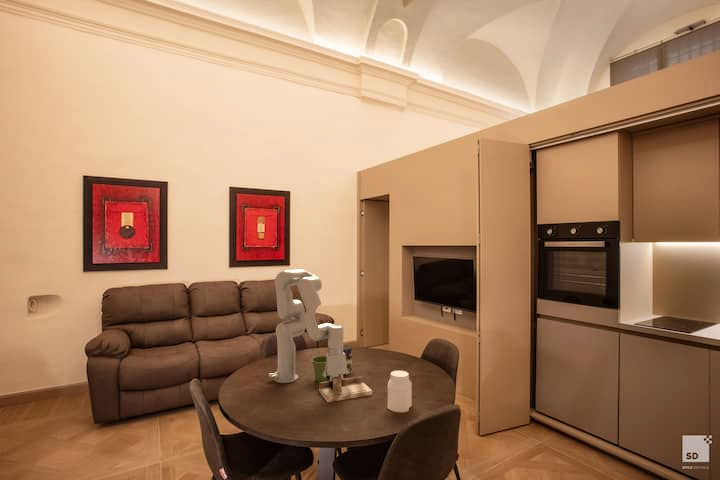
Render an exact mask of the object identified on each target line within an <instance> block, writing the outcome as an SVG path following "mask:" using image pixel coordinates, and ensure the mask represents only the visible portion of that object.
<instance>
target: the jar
mask: <svg viewBox="0 0 720 480" xmlns="http://www.w3.org/2000/svg"><path fill="white" fill-rule="evenodd" d="M409 375H410V374H409V372H407V371H405V370H393V371H391V372H390V378H389V380H388V382H387V409H388V410H389V411H391V412H393V413H406V412H409V411H410V408H411V407H412V405H413V403H412V386H413V384H412V382H411V380H410V378H409V377H410V376H409Z"/></svg>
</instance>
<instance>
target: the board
mask: <svg viewBox="0 0 720 480" xmlns="http://www.w3.org/2000/svg"><path fill="white" fill-rule="evenodd" d="M318 382H319V381H318ZM318 392H319V393H320V394H321V395H322V397H323V398H324V400H325V401H326V402H327V403H332V402H337V401H343V400H349V399H350V400H351V399H355V398H361V397H366V396H373V390H372V389H371V388H370V387H369V386H368V385H367V384H366V383H364V381H363V376H361V375H360V376H355V377H348V378H344V379H343V385H342V393H340V392H339V391H335V392H334V391H333V390H331V388H330V387H329V380H327V381H325V382H322V381H320V382H319V386H318Z"/></svg>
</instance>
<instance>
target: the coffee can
mask: <svg viewBox="0 0 720 480" xmlns="http://www.w3.org/2000/svg"><path fill="white" fill-rule="evenodd" d="M343 352H344V353H345V356H346V364H347V369H348V370H349V373H348V374H347V375H350V374H351V373H353V346H351V345H348V344H343Z"/></svg>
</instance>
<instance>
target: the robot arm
mask: <svg viewBox="0 0 720 480" xmlns="http://www.w3.org/2000/svg"><path fill="white" fill-rule="evenodd" d="M322 284H323V283H322V280H321V279H320V278H319V277H318V276H316V275H315V274H313V273H311V272H309V271H307V270H305V269H301V268H300V269H286V270H281V271H280V272H278V274H276V276H275V278H274V287H275V291H276V292H275V293H276V309H277V317H279V318H280V319H284V320H285V321H282V322H280V323H279V324H277V325H276V328H275V335H276V341H277V343H276V344H277V370H275V372H273V373H270V372H269V373H268V378H271V379H274V381H275V382H276V383H280V384H288V383H289V384H291V383H293V382H296V381H298V380H299V375H298V374H296V344H295V342H294V338H296V337H299V336H302V335H304V332H305V330H306V331H307V333H308V336H309V338H310V339H311V340H312V341H315V342H318V341H323V340H325V339H326V340H327V339H328V340H327V346H328V347H327V348H326V349H325V353H326V356H327V357H326V364H325V370H324V372H323V373H322V376H324V377H325V378H327V379H328V380H327V381H329V387H330V388H331V390H332V389H333V381H332V377H333V376H334V375H339V376H340V377H341V378H342V385H343V379H345V377H346V376H347V375H349V374H348V373H349V370H348V369H347V364H346V356H345V353H344V352H343V345H344V327H343V326H342V325H339V324H332V323H330V322H324V323H319V324H318V323H317V320H316V312H317V309H318V308H319V307H320V306H321V304H322V300H321V299H320V296H319V293H318V292H319V291H320V290H321V289H322ZM290 286H297V289H298V293H299V295H300V297H301V300H302V301H301V300H299V299H293V292H292V289H291V288H290ZM286 319H288V320H286ZM326 373H327V375H326ZM328 375H329V376H328Z"/></svg>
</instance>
